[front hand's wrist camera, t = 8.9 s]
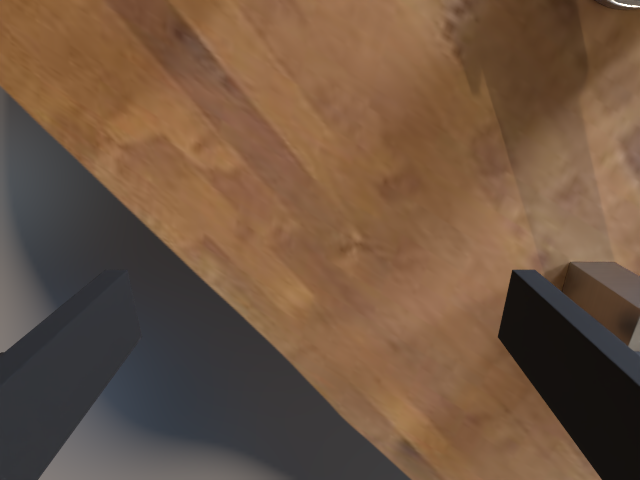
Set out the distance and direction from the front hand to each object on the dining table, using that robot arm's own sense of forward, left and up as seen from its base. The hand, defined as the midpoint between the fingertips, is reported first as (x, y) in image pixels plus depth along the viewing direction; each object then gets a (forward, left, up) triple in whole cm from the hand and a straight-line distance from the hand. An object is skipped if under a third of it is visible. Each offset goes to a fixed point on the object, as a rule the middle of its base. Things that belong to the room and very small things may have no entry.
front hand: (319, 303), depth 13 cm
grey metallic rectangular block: (-27, +30, -33) cm, 52 cm away
